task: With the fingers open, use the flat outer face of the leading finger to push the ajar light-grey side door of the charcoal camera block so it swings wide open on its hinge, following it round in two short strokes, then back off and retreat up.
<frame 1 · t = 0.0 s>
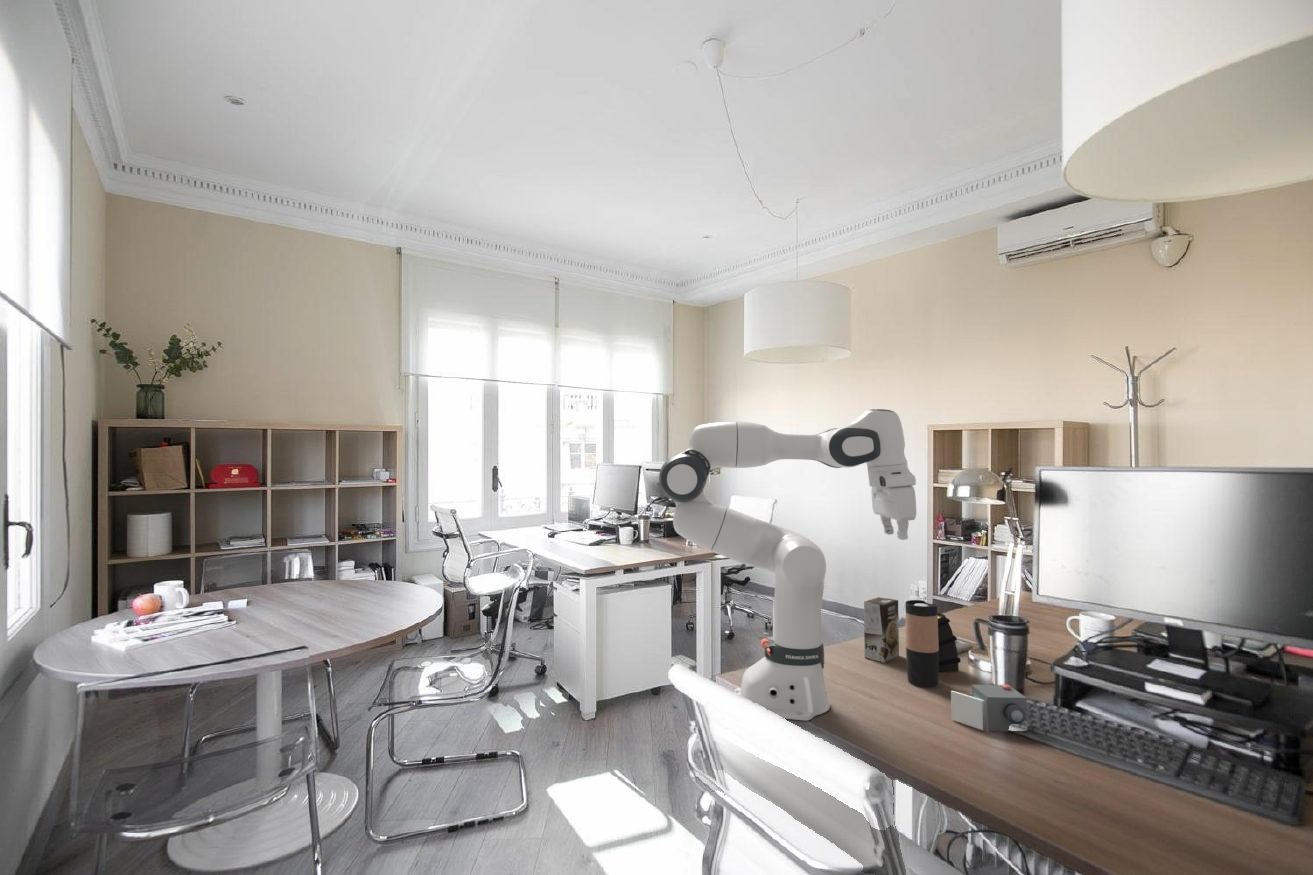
hand: (895, 536, 141), 39 cm above the table, tool pointing down, fingers open, 8 cm apart
camera block: (999, 724, 129), on the table
coffee box: (882, 657, 174), on the table
side door: (968, 710, 128), point 3 cm above the table, hinge at 40.0°
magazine: (933, 671, 162), on the table
travel mug: (923, 683, 153), on the table
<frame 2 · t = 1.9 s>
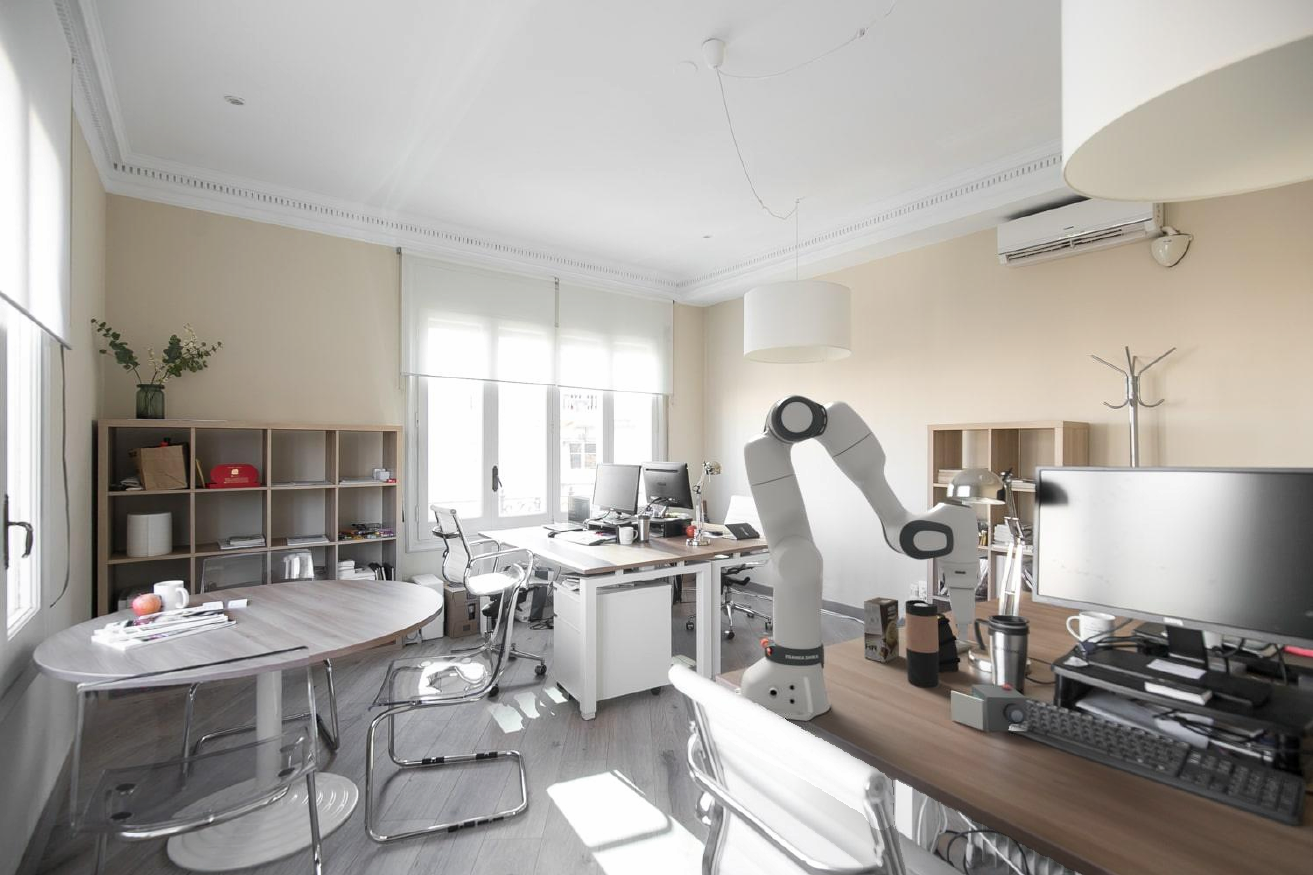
hand: (961, 634, 137), 17 cm above the table, tool pointing down, fingers open, 8 cm apart
nothing on the table moved.
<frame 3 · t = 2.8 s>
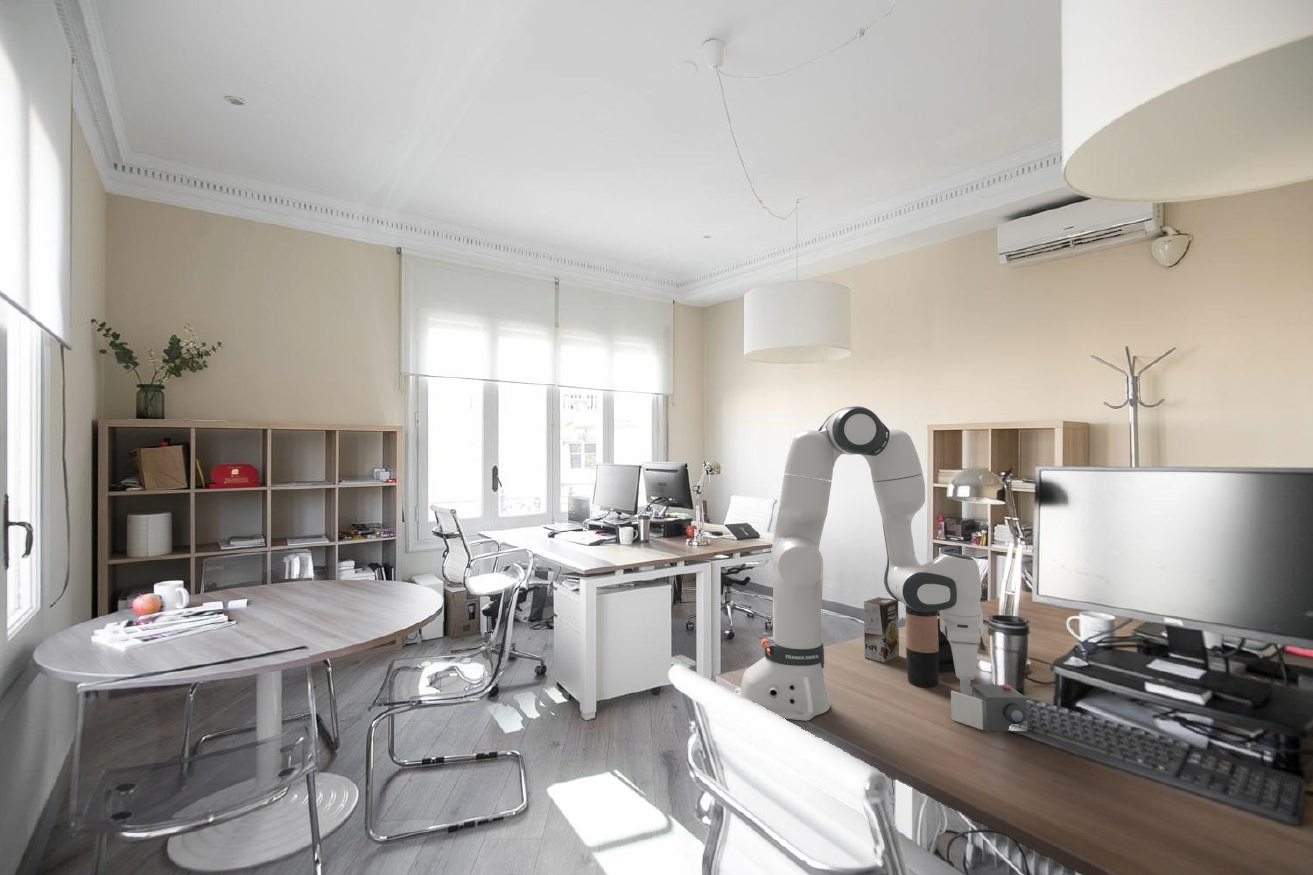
hand: (963, 686, 137), 5 cm above the table, tool pointing down, fingers open, 8 cm apart
nothing on the table moved.
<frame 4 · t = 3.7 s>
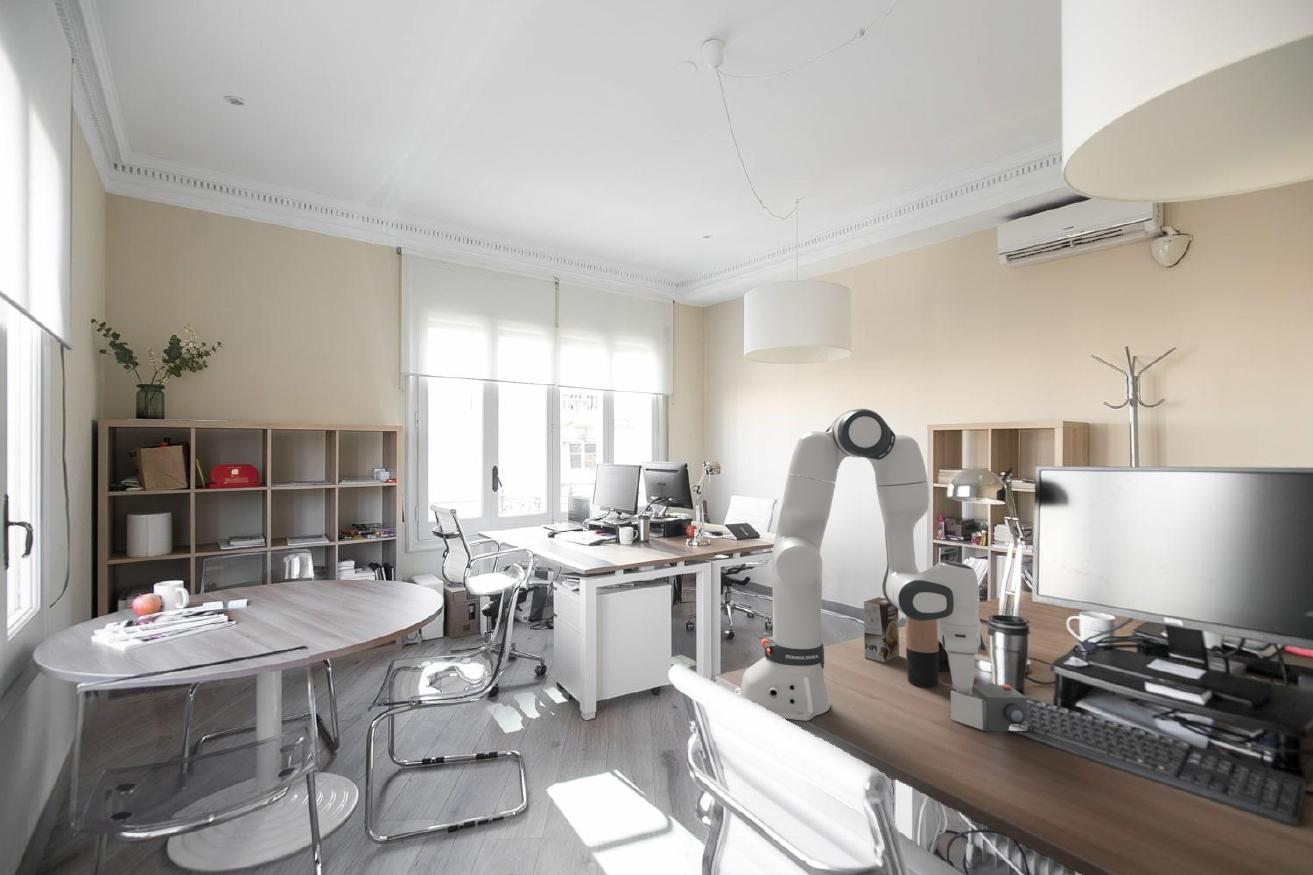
hand: (960, 696, 135), 4 cm above the table, tool pointing down, fingers open, 7 cm apart
side door: (968, 710, 128), point 3 cm above the table, hinge at 40.8°, touching gripper
everything else where it was.
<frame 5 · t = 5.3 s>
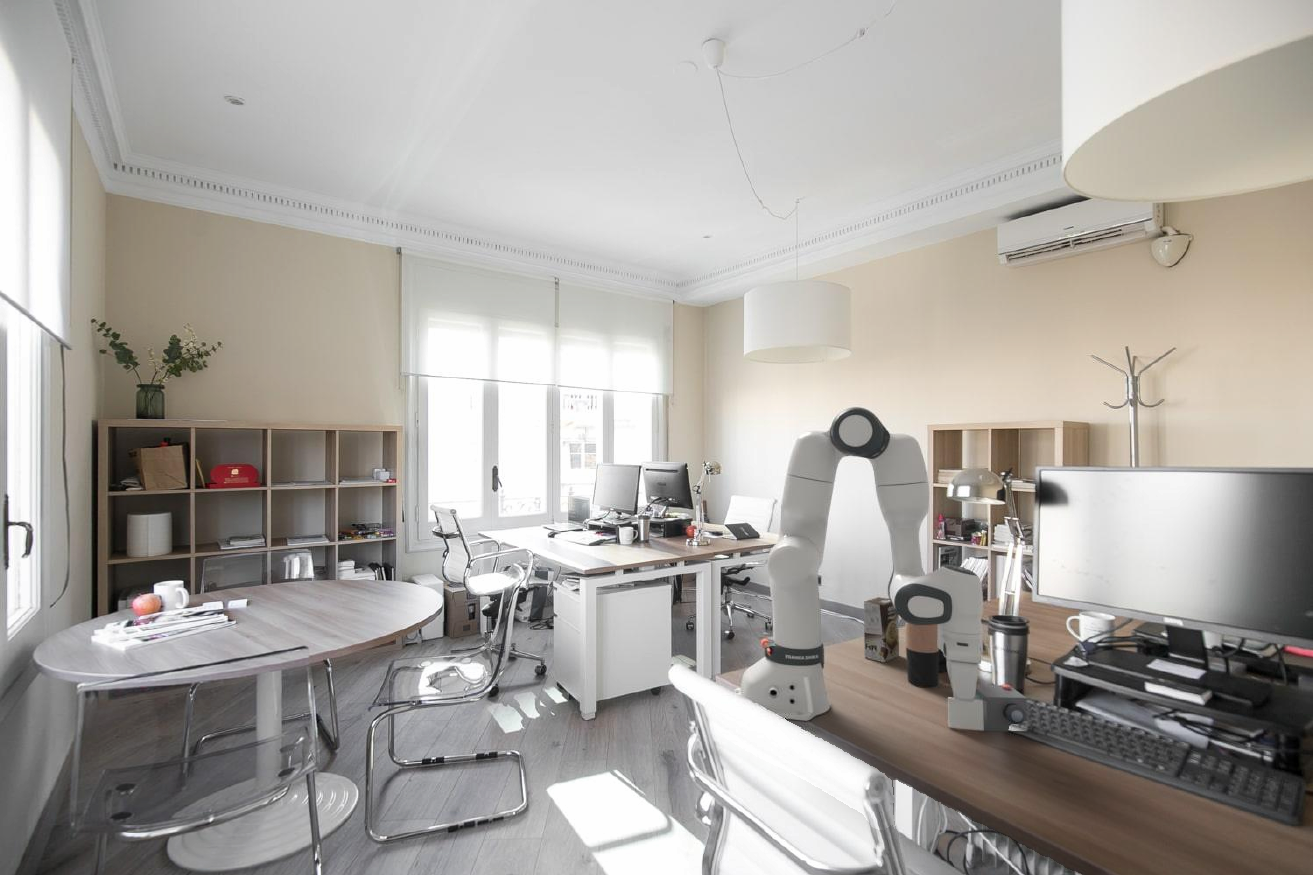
hand: (959, 706, 130), 3 cm above the table, tool pointing down, fingers closed
side door: (967, 713, 127), point 3 cm above the table, hinge at 77.3°, touching gripper
everything else where it was.
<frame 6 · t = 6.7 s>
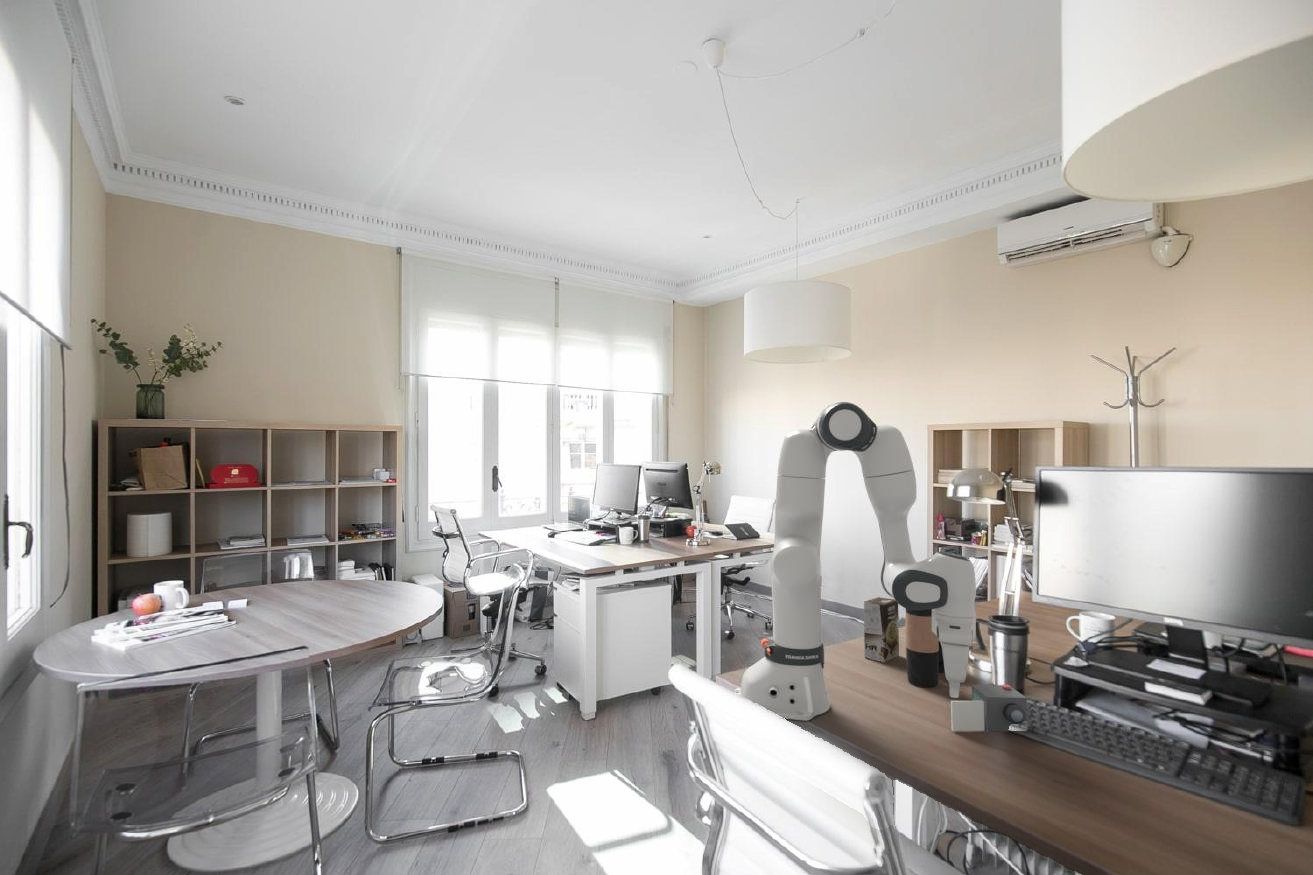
hand: (952, 688, 134), 6 cm above the table, tool pointing down, fingers open, 8 cm apart
side door: (969, 715, 126), point 3 cm above the table, hinge at 94.3°
everything else where it was.
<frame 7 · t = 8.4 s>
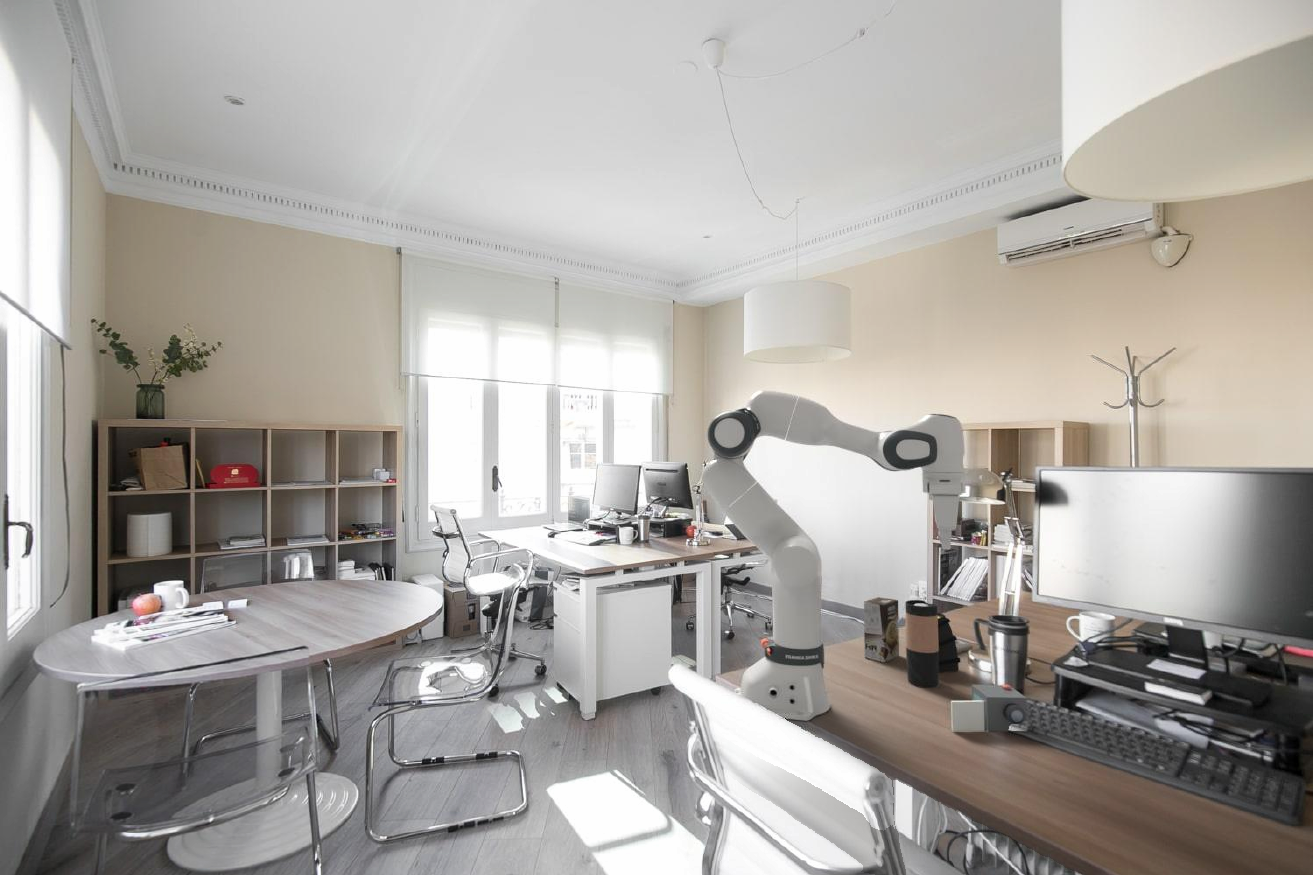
hand: (945, 546, 137), 37 cm above the table, tool pointing down, fingers open, 8 cm apart
side door: (969, 715, 126), point 3 cm above the table, hinge at 94.7°
everything else where it was.
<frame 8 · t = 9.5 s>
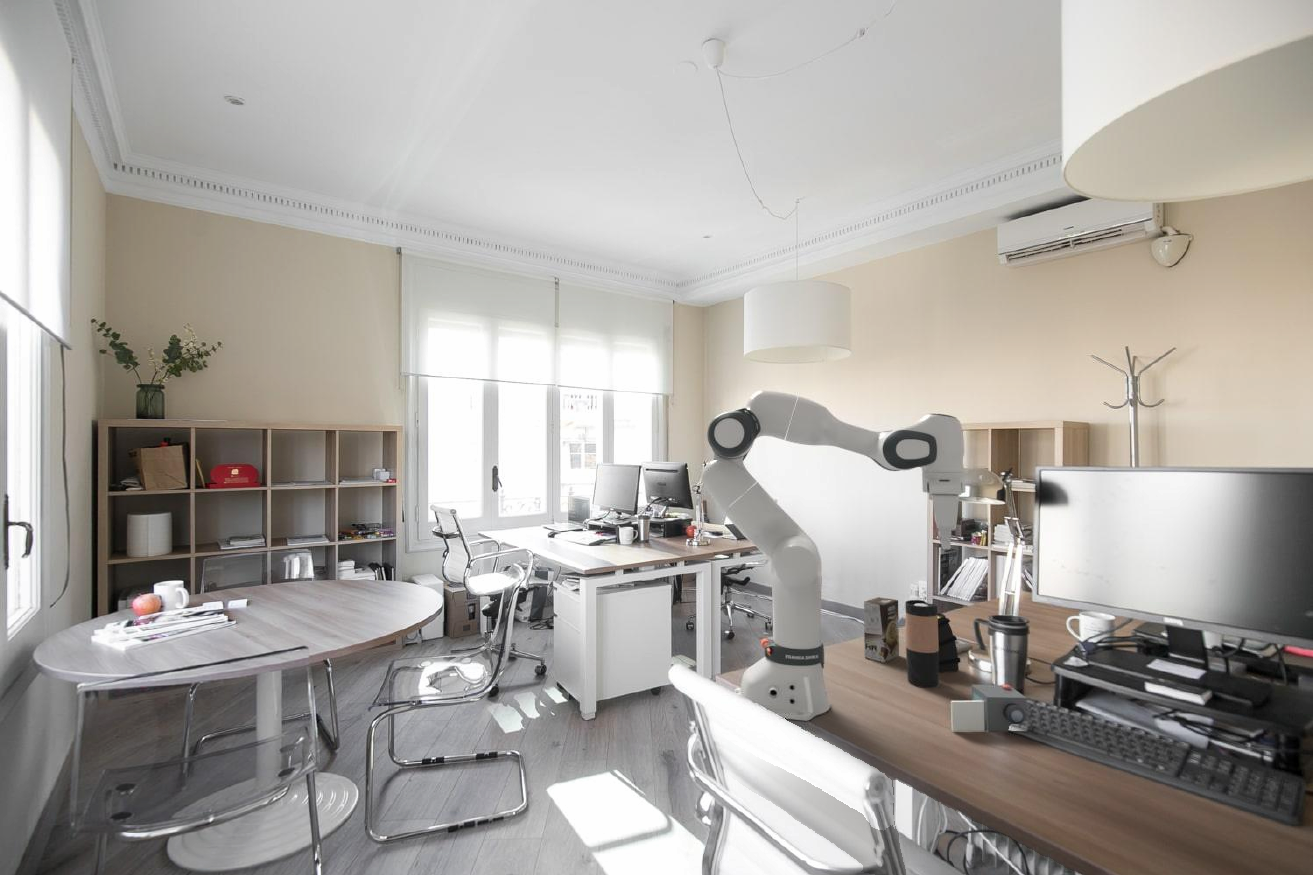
hand: (945, 545, 137), 37 cm above the table, tool pointing down, fingers open, 8 cm apart
nothing on the table moved.
at the end: side door at +95° (first picture: +40°); side door touching nothing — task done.
